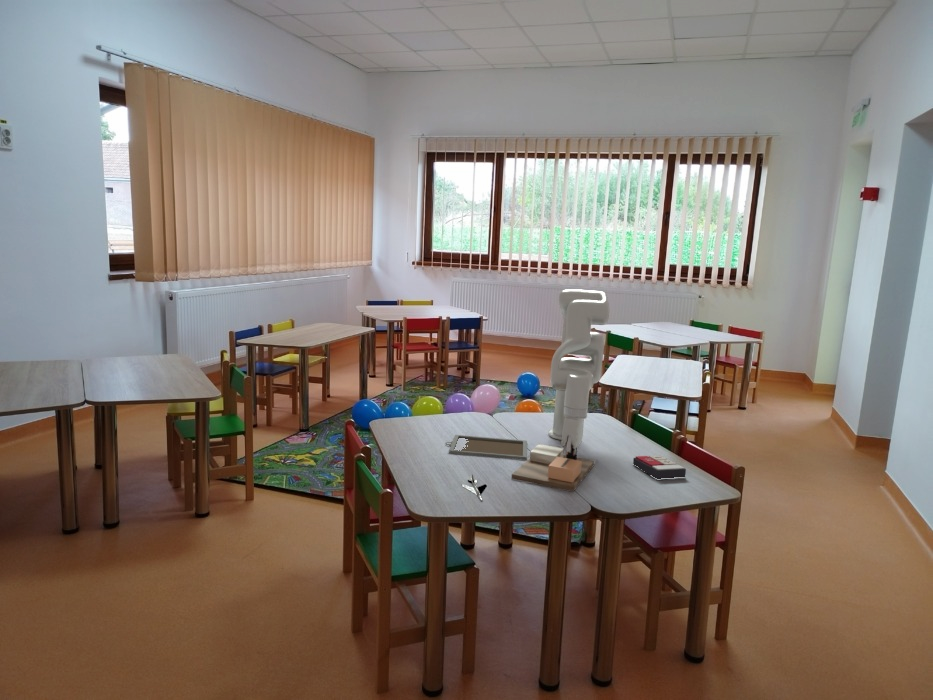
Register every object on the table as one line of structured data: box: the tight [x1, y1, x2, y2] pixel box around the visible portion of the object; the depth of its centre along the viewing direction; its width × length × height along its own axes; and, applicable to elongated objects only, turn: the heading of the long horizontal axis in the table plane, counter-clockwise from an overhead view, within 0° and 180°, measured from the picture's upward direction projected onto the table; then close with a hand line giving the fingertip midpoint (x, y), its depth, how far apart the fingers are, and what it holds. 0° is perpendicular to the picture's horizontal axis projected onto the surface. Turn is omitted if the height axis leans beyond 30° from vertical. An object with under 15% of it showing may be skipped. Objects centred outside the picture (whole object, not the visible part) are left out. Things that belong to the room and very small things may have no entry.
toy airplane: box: [461, 474, 488, 502], centre depth 190 cm, size 8×21×2 cm, turn 9°
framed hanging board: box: [444, 434, 528, 461], centre depth 229 cm, size 19×2×30 cm
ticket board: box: [511, 443, 595, 492], centre depth 208 cm, size 28×20×4 cm
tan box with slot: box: [548, 457, 582, 483], centre depth 200 cm, size 10×8×4 cm
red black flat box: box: [632, 454, 687, 479], centre depth 214 cm, size 11×4×15 cm
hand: (570, 465), depth 207 cm, fingers closed
